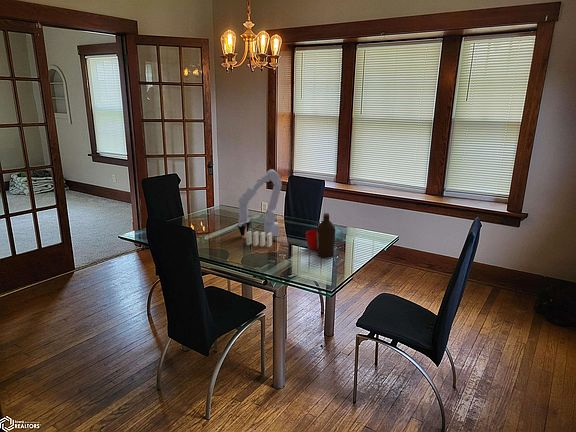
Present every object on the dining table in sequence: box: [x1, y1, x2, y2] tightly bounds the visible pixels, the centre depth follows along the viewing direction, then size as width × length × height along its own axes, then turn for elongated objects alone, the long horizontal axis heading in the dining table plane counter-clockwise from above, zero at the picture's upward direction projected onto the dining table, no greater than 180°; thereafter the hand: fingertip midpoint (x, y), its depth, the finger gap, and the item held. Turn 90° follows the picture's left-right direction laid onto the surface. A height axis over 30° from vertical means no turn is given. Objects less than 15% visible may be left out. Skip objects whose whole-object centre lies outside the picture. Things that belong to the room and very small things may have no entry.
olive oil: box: [316, 212, 336, 259], centre depth 233 cm, size 11×11×25 cm
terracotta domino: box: [241, 224, 247, 239], centre depth 269 cm, size 2×5×8 cm, turn 163°
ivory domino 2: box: [252, 230, 260, 247], centre depth 254 cm, size 2×5×8 cm, turn 163°
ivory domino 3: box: [259, 231, 266, 247], centre depth 253 cm, size 2×5×8 cm, turn 163°
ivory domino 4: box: [266, 232, 273, 248], centre depth 251 cm, size 2×5×8 cm, turn 163°
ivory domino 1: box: [245, 230, 253, 246], centre depth 255 cm, size 2×5×8 cm, turn 163°
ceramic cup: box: [305, 229, 317, 252], centre depth 248 cm, size 13×17×10 cm
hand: (244, 234), depth 270 cm, fingers open, 5 cm apart
